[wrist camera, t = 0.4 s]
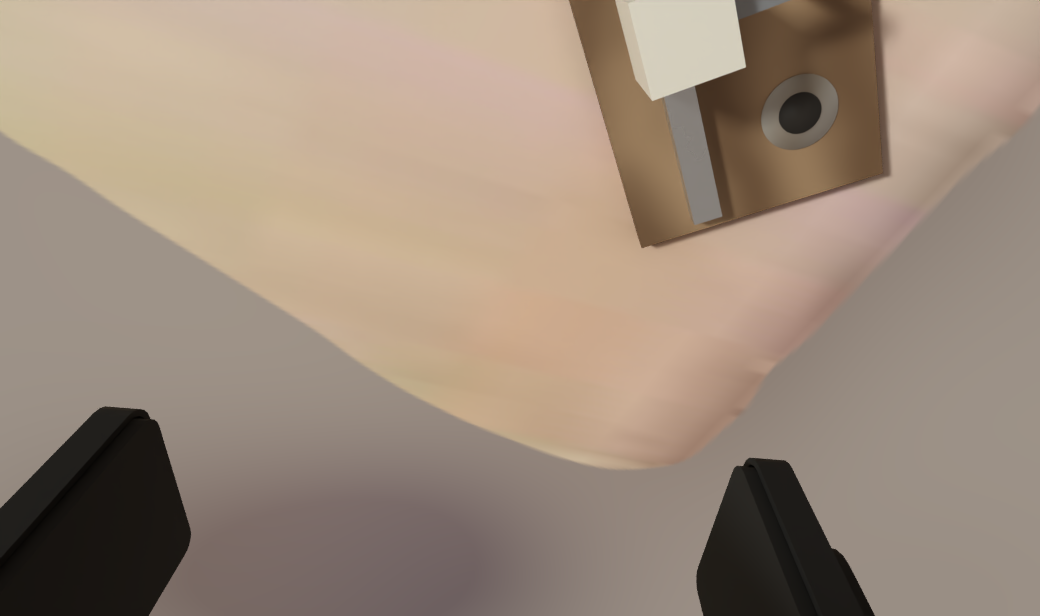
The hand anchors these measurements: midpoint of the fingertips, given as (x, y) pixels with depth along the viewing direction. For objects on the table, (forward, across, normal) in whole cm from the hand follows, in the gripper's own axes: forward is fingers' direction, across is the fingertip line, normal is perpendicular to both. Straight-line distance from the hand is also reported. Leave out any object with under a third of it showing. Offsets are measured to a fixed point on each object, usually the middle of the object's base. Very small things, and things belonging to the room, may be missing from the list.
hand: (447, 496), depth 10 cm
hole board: (+28, -11, -5) cm, 30 cm away
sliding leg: (+26, -9, -6) cm, 29 cm away
